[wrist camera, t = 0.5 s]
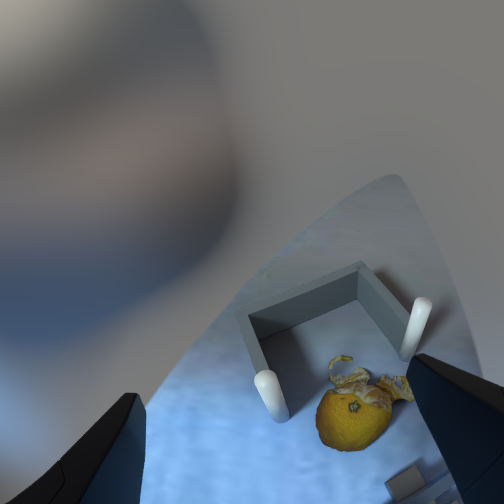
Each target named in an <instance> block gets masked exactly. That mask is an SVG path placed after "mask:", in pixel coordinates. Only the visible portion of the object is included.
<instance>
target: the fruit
mask: <svg viewBox="0 0 504 504" xmlns="http://www.w3.org/2000/svg"><path fill="white" fill-rule="evenodd" d="M338 360H342V361H345V362H352V360H353V359H352V358H351V357H345V356H342V355H341V356H340V357H336V358H335V359H333V360H331V361H330V363H329V366H328V369H330V370H331V369H332V368H333V364H334V363H335V362H336V361H338ZM337 368H338V367H337ZM398 377H399V379H400V380H401V381H402V388H399V387H397V386H396V384H395V382H396V380H397V376H394V378H393V380H390V379H389V377H388V376H385V375H384V374H383V375H382V378H381V380H380V381H379V382H378V383H376V384H375V385H367V381H368V380H369V379H370V378H369V375H368V373H367V371H365V370H364V369H363V368H360V367H359V368H358V369H355V370H354V372H353V373H351V374H348V375H346V376H342V375H340V374H338V375H337V376H333V375H332V374H330V373H329V380H331V381H332V382H333V383H334V384H335V388H334V389H329V390H328V391H327V392H326V393H325V395H324V396H323V398H322V399H321V401H320V404H319V406H318V408H317V414H316V427H317V429H318V431H319V437H320V439H321V441H322V443H323V444H324V445H326V446H328V447H331V448H333V449H336V450H338V451H341V452H342V451H346V452H349V451H361V450H364V449H365V448H366V447H368V446H369V445H370V444H371V443H372V442H373V441H375V440H377V439H378V437H379V436H380V434H381V433H382V432H383V431H384V430H385V429H386V428H387V427H388V424H389V422H390V419H391V416H392V406H391V405H392V403H393V402H394V401H395V400H396V399H400V398H403V399H406V400H407V401H408V402H412V401H413V400H414V399H415V398H414V396H413V393H412V391H411V388H410V386H409V384H408V381H407V379H406V377H403V376H398Z"/></svg>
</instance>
